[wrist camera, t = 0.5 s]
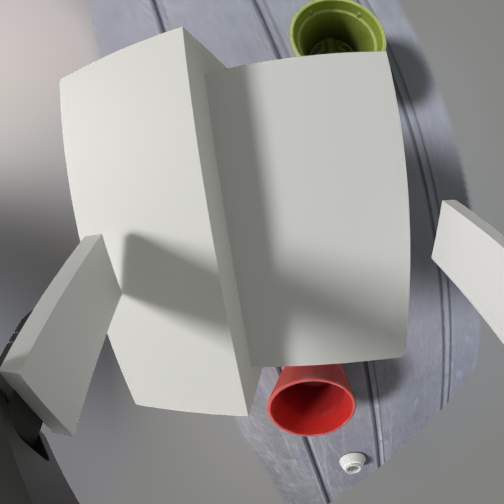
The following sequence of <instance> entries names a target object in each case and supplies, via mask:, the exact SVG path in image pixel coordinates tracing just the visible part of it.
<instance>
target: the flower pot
mask: <svg viewBox="0 0 504 504" xmlns="http://www.w3.org/2000/svg"><path fill="white" fill-rule="evenodd" d="M267 409H268V414H269V417H270V419H271V420H272V421H273V423H274V424H275V425H276V426H278V427H279V428H280V429H282V430H284V431H286V432H288V433H291V434H295V435H299V436H320V435H325V434H329V433H331V432H334V431H336V430H338V429H340V428H341V427H343V426H344V425H345V424H347V423H348V422H349V420H350V419H351V418H352V416H353V415H354V412H355V409H356V401H355V397H354V394H353V392H352V389H351V387H350V384H349V382H348V379H347V376H346V374H345V372H344V369H343V367H342V365H341V363H339V364H325V365H307V366H285V367H284V369H283V371H282V373H281V375H280V377H279V379H278V381H277V383H276V386H275V388H274V390H273V392H272V394H271V396H270V399H269V402H268V407H267Z"/></svg>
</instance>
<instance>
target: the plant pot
mask: <svg viewBox="0 0 504 504" xmlns="http://www.w3.org/2000/svg"><path fill="white" fill-rule="evenodd" d="M290 40H291V44H292V47H293V49H294V51H295V53H296V55H297V56H298V57H301V56H310V55H320V54H332V53H348V52H385V51H386V35H385V32H384V29H383V27H382V25H381V23H380V22H379V20H378V19H377V18H376V17H375V15H374V14H373V13H372V12H371V11H369V10H368V9H367V8H365V7H364V6H362V5H360V4H358V3H356V2H354V1H351V0H314V1H312V2H310V3H308V4H306V5H305V6H303V7H302V8H301V9H300V10H299V11H298V12H297V14H296V15H295V16H294V18H293V20H292V23H291V27H290ZM339 44H342V45H344V46H346V47H347V48H348V51H347V50H345V49H344V48H343V47H342V46H340V45H339ZM318 46H322V47H321V48H320V49H319V50H318V51H317V52H316V53H315V49H316V48H317V47H318Z"/></svg>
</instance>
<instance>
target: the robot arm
mask: <svg viewBox="0 0 504 504" xmlns="http://www.w3.org/2000/svg"><path fill="white" fill-rule="evenodd" d="M431 258H432V259H433V260H434V261H435V262H436V264H437V265H438V266H439V267H440V268H441V269H442V270H443V271H444V272H445V273H446V274H447V276H448V277H449V278H450V279H451V280H452V281H453V282H454V283H455V285H456V286H457V287H458V288H459V289H460V290H461V292H462V293H463V294H464V295H465V296H466V297H467V299H468V300H469V301H470V302H471V303H472V305H473V306H474V307H475V308H476V309H477V311H478V312H479V313H480V314H481V316H482V317H483V318H484V319H485V320H486V322H487V323H488V324H489V326H490V327H491V328H492V330H493V331H494V332H495V333H496V335H497V336H498V337H499V339H500V340H501V341H502V343H503V344H504V235H503V234H501V233H500V232H499V231H498V230H496V229H495V228H494V227H492V226H491V225H490V224H488V223H487V222H486V221H484V220H483V219H482V218H480V217H479V216H478V215H476V214H475V213H474V212H472V211H471V210H469V209H468V208H467V207H465V206H464V205H462V204H461V203H459V202H458V201H456V200H442V205H441V211H440V217H439V222H438V228H437V233H436V238H435V243H434V248H433V252H432V257H431ZM121 295H122V292H121V289H120V286H119V283H118V281H117V278H116V275H115V272H114V269H113V266H112V263H111V260H110V257H109V254H108V251H107V248H106V245H105V242H104V239H103V236H102V234H98V235H91V236H85V237H84V238H83V240H82V241H81V242H80V244H79V245H78V246H77V247H76V249H75V250H74V252H73V253H72V254H71V256H70V257H69V258H68V260H67V261H66V262H65V264H64V265H63V267H62V268H61V269H60V271H59V272H58V274H57V275H56V276H55V278H54V279H53V281H52V282H51V284H50V285H49V287H48V288H47V290H46V291H45V293H44V294H43V296H42V297H41V299H40V300H39V302H38V303H37V305H36V306H35V308H34V309H33V310H32V311H30V312H29V313H28V314H27V315H26V316H25V317H24V318H23V319H22V320H21V322H20V324H19V325H18V327H17V329H16V330H15V334H13V335H12V337H11V339H10V340H9V341H10V343H8V344H7V346H6V347H5V349H4V351H3V353H2V355H1V356H0V504H79V502H78V501H77V499H76V497H75V495H74V493H73V492H72V490H71V488H70V486H69V484H68V483H67V481H66V479H65V477H64V475H63V473H62V471H61V469H60V467H59V465H58V463H57V461H56V459H55V457H54V455H53V453H52V450H51V448H50V446H49V444H48V441H47V439H46V437H45V436H44V434H43V433H42V432H41V431H40V429H41V426H42V423H44V424H45V425H46V426H47V427H48V428H49V429H51V431H52V432H53V433H58V434H64V435H69V436H74V435H75V432H76V428H77V424H78V421H79V417H80V414H81V410H82V407H83V403H84V400H85V397H86V393H87V390H88V387H89V384H90V380H91V378H92V374H93V371H94V368H95V365H96V362H97V360H98V357H99V353H100V351H101V348H102V345H103V342H104V339H105V337H106V334H107V331H108V329H109V326H110V323H111V321H112V318H113V316H114V313H115V310H116V308H117V305H118V303H119V300H120V298H121Z"/></svg>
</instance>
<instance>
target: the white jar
mask: <svg viewBox="0 0 504 504" xmlns="http://www.w3.org/2000/svg"><path fill="white" fill-rule="evenodd" d="M364 462H365V456H364V455H363V454H361V453H349V454H346V455H344V456H343V457H341V459H340V465H341V466H342V468H343V469H344V470H345V472H346V473H357V472H359V471H360V469H361V467H362V466H363V464H364Z"/></svg>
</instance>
